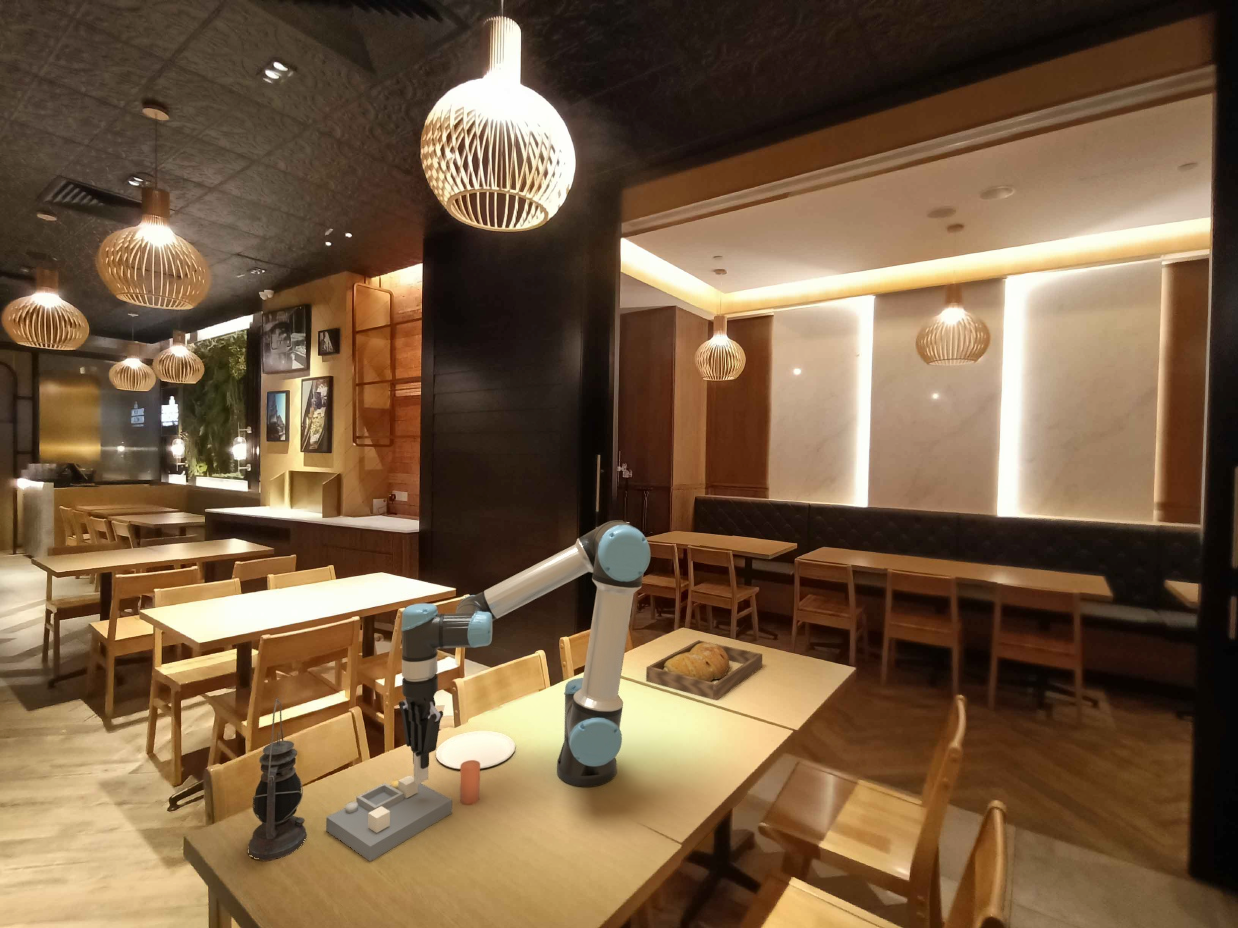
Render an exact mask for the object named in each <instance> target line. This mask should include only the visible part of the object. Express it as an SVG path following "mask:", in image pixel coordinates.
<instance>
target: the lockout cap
mask: <svg viewBox="0 0 1238 928" xmlns="http://www.w3.org/2000/svg"><path fill="white" fill-rule="evenodd" d="M459 776H460V778H459V779H460V780H459V782H460V785H459V801H460V803H461V804H463V805H474V804H476V803H478V802H479V801H480V800H481V799H480V796H481V795H480V794H481V793H480V792H481V791H480V789H481V769H480V763H479V762H478V761H475V760H469V761H465V762H463V763H462V764H461V770H460V775H459Z"/></svg>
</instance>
